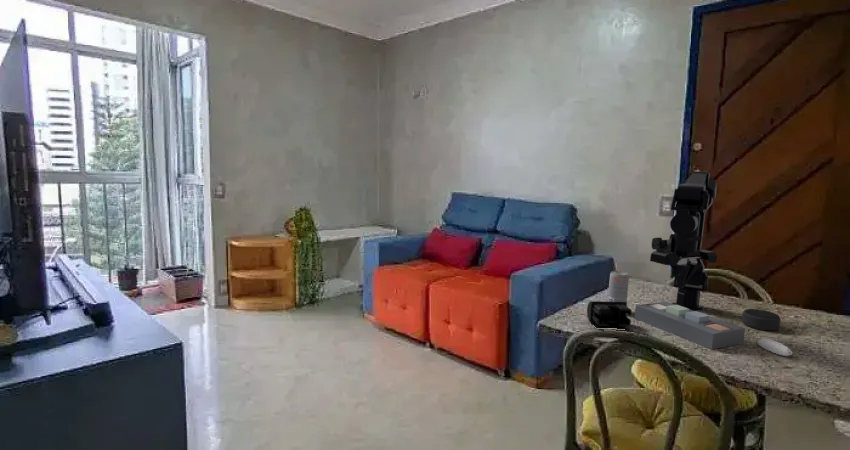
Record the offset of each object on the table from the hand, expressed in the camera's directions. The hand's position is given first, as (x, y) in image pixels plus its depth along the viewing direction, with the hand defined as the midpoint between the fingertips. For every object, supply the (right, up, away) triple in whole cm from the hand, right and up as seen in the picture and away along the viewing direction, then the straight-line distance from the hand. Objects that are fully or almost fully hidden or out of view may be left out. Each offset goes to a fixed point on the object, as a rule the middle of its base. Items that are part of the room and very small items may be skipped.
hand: (680, 287), depth 132 cm
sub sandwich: (+16, -14, -14) cm, 25 cm away
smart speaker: (+25, -12, +5) cm, 28 cm away
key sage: (0, -8, +2) cm, 8 cm away
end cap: (-19, -11, +2) cm, 22 cm away
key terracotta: (+5, -11, -9) cm, 15 cm away
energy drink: (-12, -9, +14) cm, 21 cm away
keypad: (+1, -12, 0) cm, 12 cm away
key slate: (+2, -9, -4) cm, 10 cm away
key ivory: (-2, -9, +8) cm, 12 cm away
